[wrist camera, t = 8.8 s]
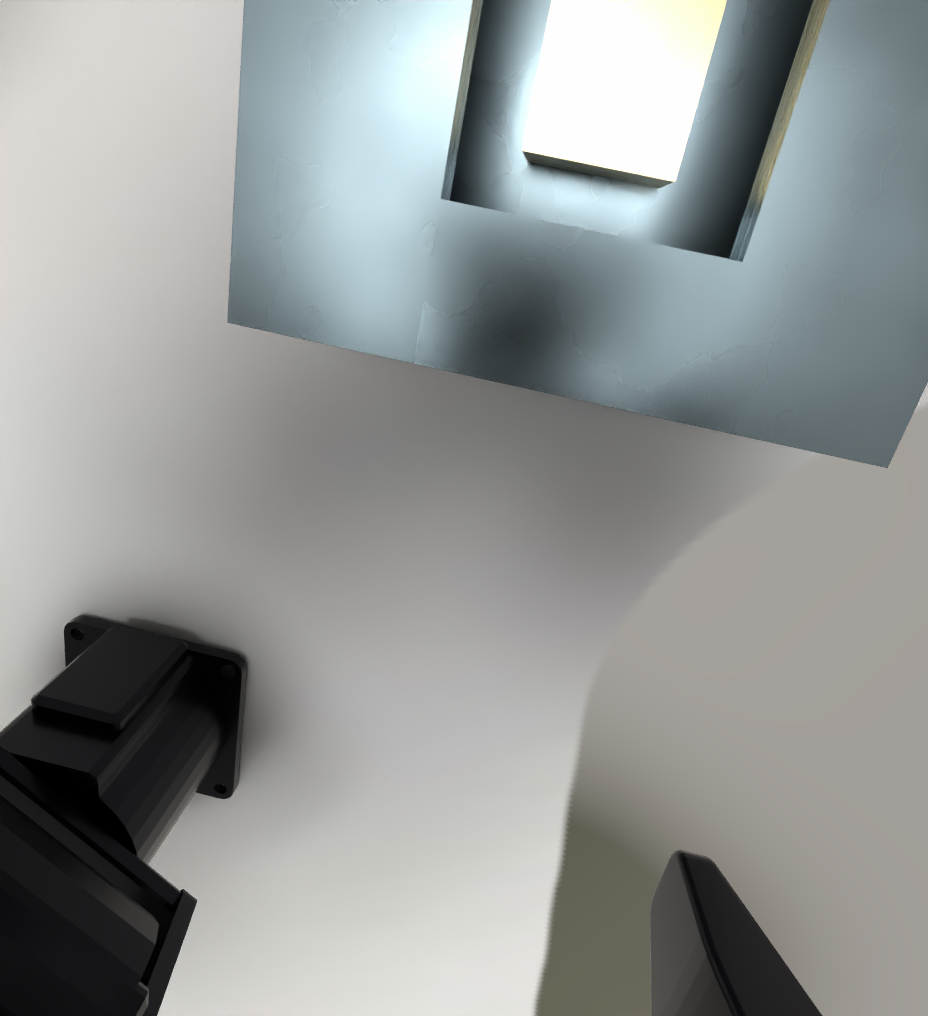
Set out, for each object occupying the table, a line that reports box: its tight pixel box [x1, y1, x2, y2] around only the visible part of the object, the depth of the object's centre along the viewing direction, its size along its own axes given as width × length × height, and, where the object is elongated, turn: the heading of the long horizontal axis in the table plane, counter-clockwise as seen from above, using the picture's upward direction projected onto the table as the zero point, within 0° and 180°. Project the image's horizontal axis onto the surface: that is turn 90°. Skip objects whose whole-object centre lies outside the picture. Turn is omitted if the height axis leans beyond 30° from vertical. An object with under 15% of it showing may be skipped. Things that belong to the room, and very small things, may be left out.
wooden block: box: [522, 0, 727, 188], centre depth 14 cm, size 6×3×2 cm, turn 169°
